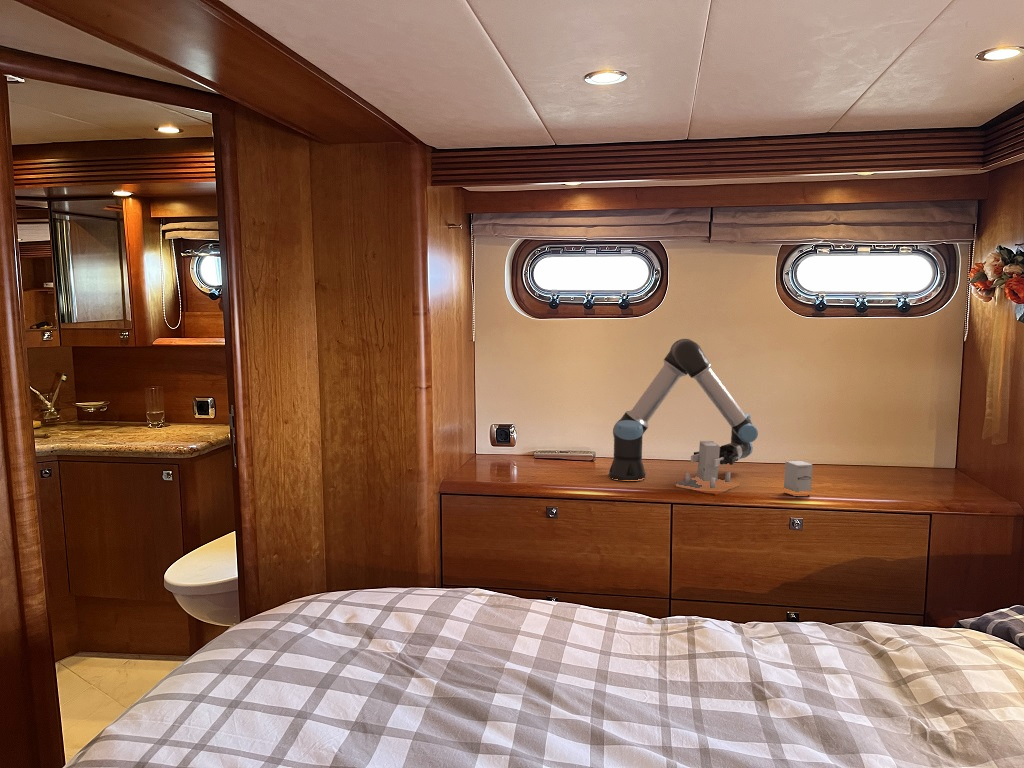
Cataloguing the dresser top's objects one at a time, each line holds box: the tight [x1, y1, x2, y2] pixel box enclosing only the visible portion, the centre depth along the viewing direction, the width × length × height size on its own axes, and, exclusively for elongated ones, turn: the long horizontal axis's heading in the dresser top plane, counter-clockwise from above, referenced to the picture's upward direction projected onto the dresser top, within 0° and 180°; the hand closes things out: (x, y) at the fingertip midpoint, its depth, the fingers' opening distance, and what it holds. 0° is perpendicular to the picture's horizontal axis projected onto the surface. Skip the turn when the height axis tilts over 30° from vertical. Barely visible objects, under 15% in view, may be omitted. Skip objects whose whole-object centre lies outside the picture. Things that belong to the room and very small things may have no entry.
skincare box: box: [696, 440, 721, 481], centre depth 297 cm, size 8×6×15 cm
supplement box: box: [783, 460, 814, 492], centre depth 287 cm, size 7×7×13 cm
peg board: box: [674, 471, 731, 488], centre depth 298 cm, size 18×20×6 cm
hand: (703, 461), depth 294 cm, fingers closed on skincare box, 9 cm apart
